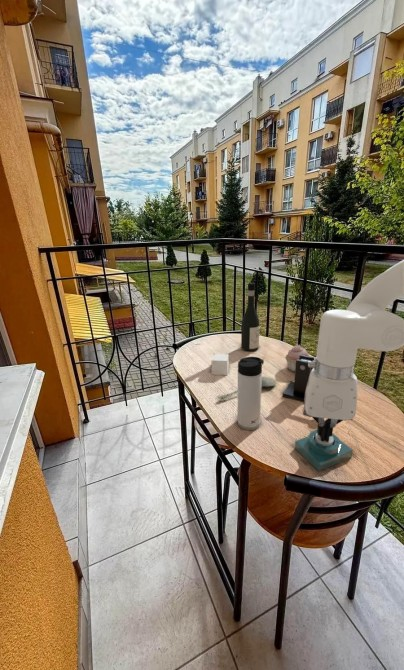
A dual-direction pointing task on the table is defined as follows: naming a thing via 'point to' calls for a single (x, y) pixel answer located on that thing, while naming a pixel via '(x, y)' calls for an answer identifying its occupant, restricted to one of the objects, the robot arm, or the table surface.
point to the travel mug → (249, 392)
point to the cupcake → (294, 356)
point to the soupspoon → (264, 383)
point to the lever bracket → (299, 379)
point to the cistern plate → (323, 451)
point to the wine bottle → (250, 324)
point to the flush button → (324, 443)
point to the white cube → (220, 364)
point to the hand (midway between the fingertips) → (323, 437)
